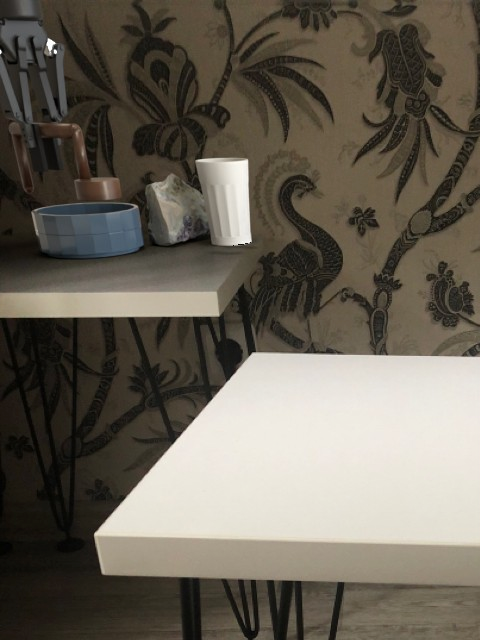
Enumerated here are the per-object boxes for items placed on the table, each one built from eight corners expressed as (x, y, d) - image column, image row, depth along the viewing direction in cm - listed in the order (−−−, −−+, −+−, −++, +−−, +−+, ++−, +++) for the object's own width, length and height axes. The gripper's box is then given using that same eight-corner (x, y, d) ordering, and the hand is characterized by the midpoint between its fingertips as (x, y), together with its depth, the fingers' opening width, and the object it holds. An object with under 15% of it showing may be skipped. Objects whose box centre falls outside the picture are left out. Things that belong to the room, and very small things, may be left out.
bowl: (33, 261, 134) (23, 217, 131) (49, 245, 146) (40, 204, 143) (141, 256, 136) (133, 213, 133) (147, 240, 149) (141, 201, 146)
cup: (267, 240, 148) (258, 158, 142) (233, 248, 142) (223, 162, 136) (230, 237, 152) (220, 157, 146) (195, 244, 146) (184, 161, 140)
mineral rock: (215, 233, 156) (207, 168, 151) (236, 241, 148) (228, 173, 143) (139, 239, 150) (128, 172, 145) (157, 248, 142) (145, 178, 137)
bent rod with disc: (131, 197, 139) (118, 123, 134) (96, 201, 134) (82, 125, 129) (43, 190, 149) (28, 121, 144) (8, 194, 144) (-9, 123, 139)
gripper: (-23, -17, 123) (21, 176, 134) (71, -11, 133) (104, 167, 145) (-56, -14, 126) (-10, 174, 138) (38, -8, 137) (73, 165, 149)
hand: (48, 170), depth 142 cm, fingers closed on bent rod with disc, 2 cm apart
